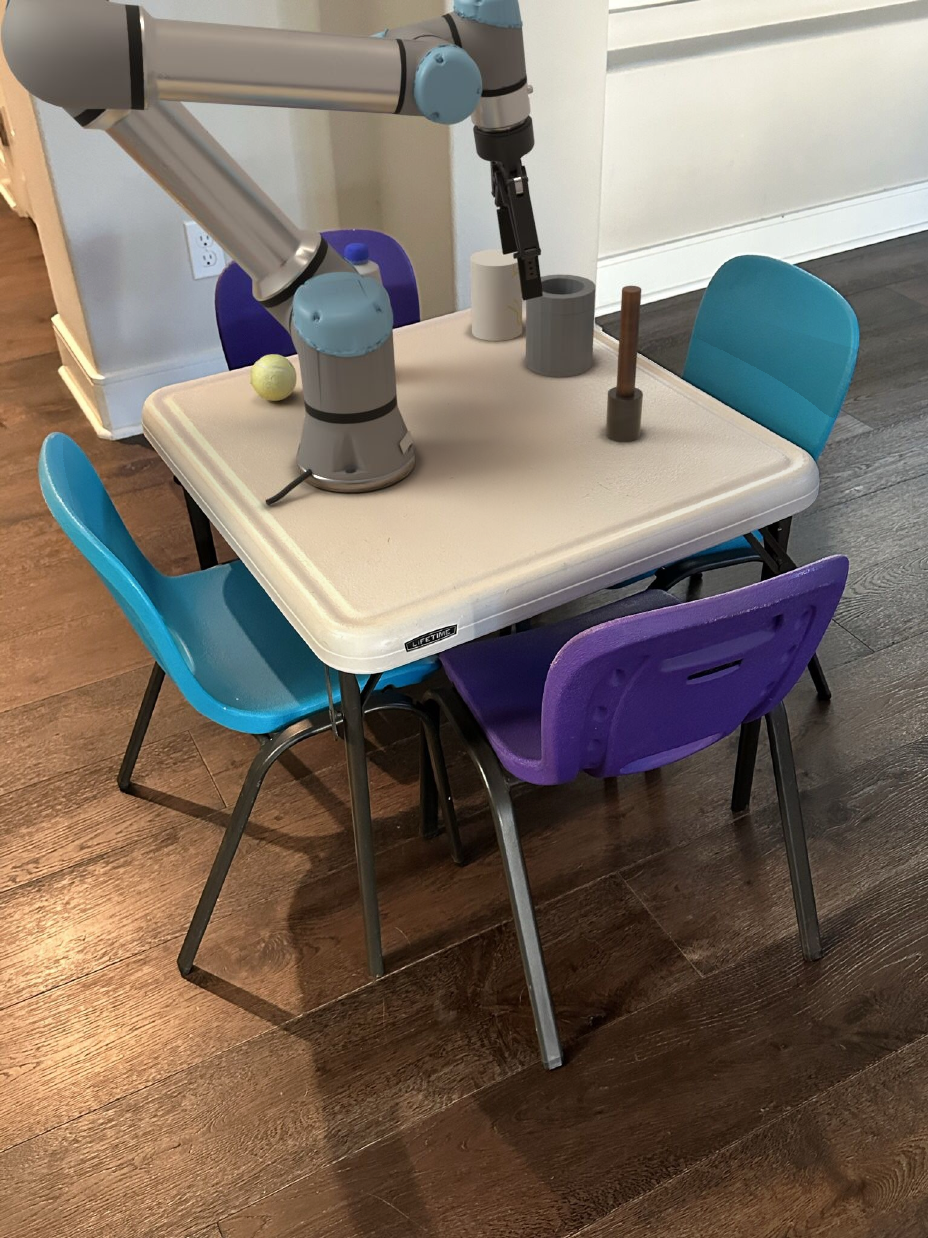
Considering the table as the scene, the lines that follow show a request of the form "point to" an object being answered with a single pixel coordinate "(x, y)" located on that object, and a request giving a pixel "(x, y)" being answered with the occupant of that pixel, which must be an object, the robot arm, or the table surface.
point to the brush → (626, 374)
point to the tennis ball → (273, 377)
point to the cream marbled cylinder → (495, 296)
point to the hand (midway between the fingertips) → (522, 273)
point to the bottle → (362, 261)
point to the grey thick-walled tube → (561, 326)
